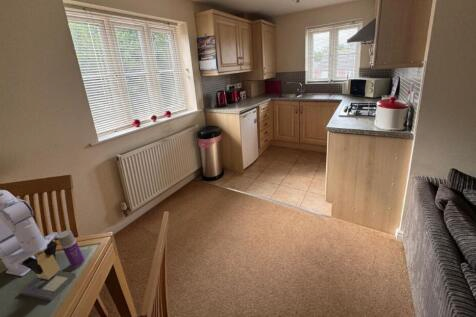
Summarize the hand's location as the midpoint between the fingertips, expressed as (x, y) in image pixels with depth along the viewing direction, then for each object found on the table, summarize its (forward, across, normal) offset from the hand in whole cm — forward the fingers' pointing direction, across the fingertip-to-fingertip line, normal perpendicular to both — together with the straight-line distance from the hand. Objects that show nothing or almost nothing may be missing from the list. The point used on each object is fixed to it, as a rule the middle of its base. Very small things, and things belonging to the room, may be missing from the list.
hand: (46, 267), depth 82 cm
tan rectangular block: (+3, 0, 0) cm, 3 cm away
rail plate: (+10, 0, +4) cm, 10 cm away
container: (+10, +10, +2) cm, 14 cm away
